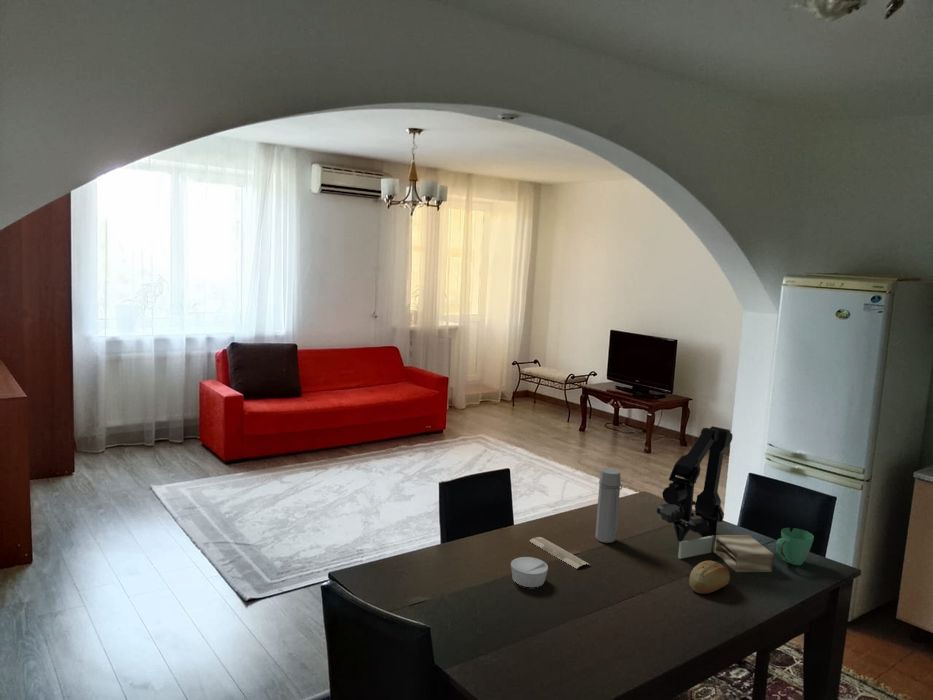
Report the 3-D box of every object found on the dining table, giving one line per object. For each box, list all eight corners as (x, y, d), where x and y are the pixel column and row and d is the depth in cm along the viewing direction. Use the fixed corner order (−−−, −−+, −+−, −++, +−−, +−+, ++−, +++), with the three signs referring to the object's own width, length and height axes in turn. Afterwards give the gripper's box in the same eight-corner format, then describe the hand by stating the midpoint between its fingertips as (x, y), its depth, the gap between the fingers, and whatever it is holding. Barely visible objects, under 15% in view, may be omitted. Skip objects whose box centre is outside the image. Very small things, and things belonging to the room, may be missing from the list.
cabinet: (714, 551, 227) (715, 535, 226) (747, 551, 228) (748, 535, 227) (736, 572, 212) (738, 554, 211) (771, 571, 213) (773, 554, 213)
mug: (789, 553, 228) (792, 525, 227) (816, 565, 220) (820, 536, 219) (762, 561, 221) (765, 532, 220) (789, 573, 213) (793, 544, 211)
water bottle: (590, 537, 234) (595, 468, 231) (608, 534, 237) (613, 466, 234) (605, 547, 226) (611, 476, 223) (624, 544, 229) (630, 474, 226)
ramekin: (545, 593, 193) (546, 575, 192) (507, 587, 195) (508, 570, 194) (548, 575, 204) (549, 559, 203) (512, 570, 206) (513, 554, 205)
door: (711, 550, 227) (712, 535, 226) (713, 551, 226) (715, 536, 225) (677, 557, 220) (679, 541, 219) (680, 558, 219) (681, 542, 218)
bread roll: (737, 587, 202) (739, 563, 201) (710, 601, 192) (713, 575, 191) (708, 575, 209) (711, 551, 208) (681, 588, 200) (683, 563, 199)
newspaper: (590, 567, 212) (590, 562, 212) (573, 572, 208) (574, 567, 208) (542, 540, 231) (542, 535, 231) (526, 544, 227) (526, 539, 227)
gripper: (646, 491, 228) (642, 534, 231) (686, 510, 212) (682, 556, 214) (671, 487, 233) (667, 529, 235) (711, 506, 217) (707, 551, 219)
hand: (679, 541), depth 226 cm, fingers closed
